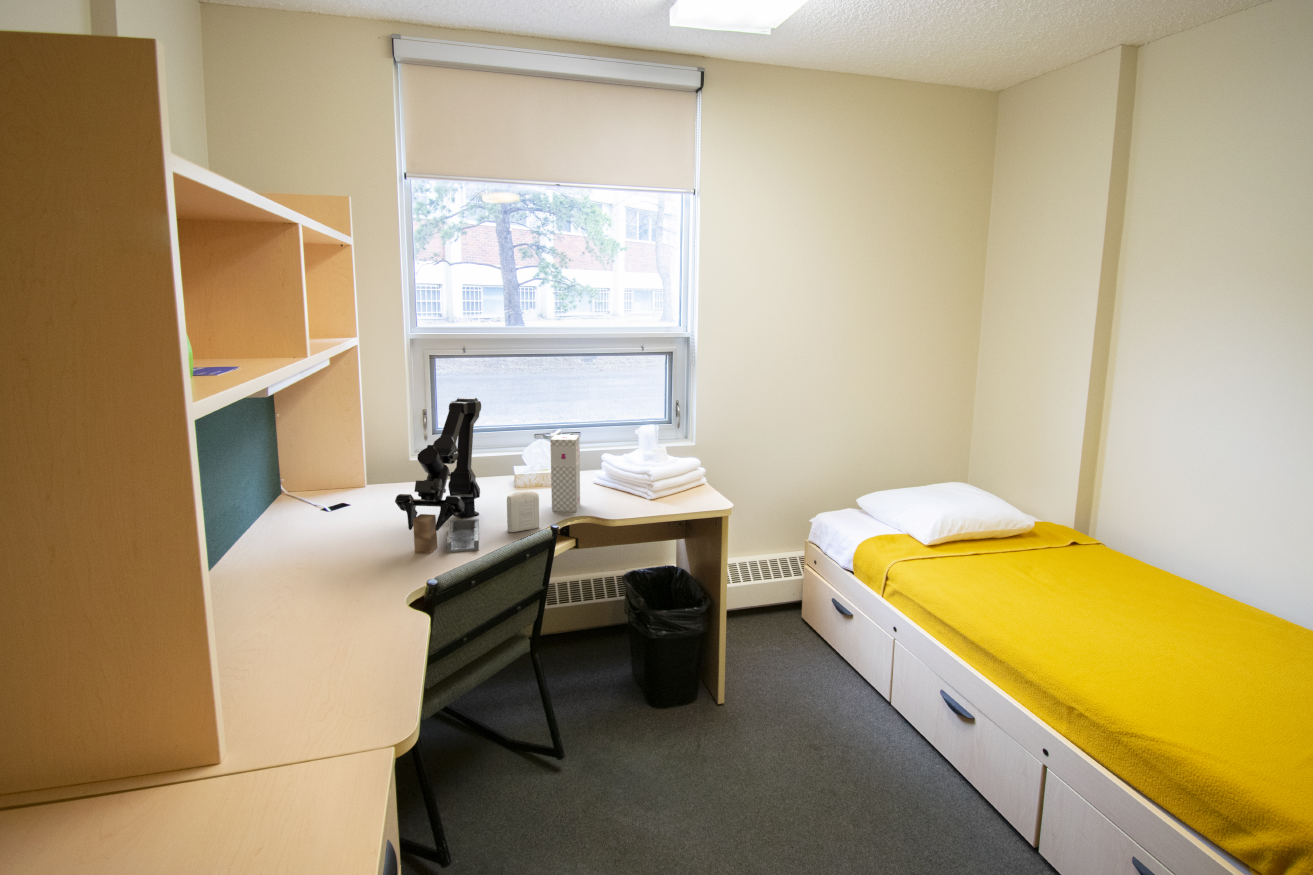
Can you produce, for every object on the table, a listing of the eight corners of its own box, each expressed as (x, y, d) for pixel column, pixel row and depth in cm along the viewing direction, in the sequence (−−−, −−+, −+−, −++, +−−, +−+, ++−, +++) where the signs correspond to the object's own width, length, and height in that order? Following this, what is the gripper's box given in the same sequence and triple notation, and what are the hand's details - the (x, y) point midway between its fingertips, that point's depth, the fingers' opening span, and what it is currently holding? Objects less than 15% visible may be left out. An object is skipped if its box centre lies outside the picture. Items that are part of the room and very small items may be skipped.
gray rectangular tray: (450, 530, 213) (450, 520, 212) (479, 528, 215) (478, 519, 215) (447, 552, 194) (446, 542, 193) (478, 550, 196) (478, 540, 196)
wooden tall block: (437, 547, 198) (435, 514, 196) (430, 553, 193) (428, 520, 191) (422, 547, 198) (420, 514, 196) (415, 553, 194) (412, 519, 192)
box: (576, 511, 233) (575, 440, 228) (551, 511, 233) (550, 439, 228) (580, 504, 241) (579, 435, 236) (556, 503, 241) (554, 434, 236)
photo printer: (536, 524, 219) (535, 487, 217) (541, 528, 216) (540, 490, 213) (505, 530, 214) (504, 492, 211) (510, 534, 210) (509, 495, 208)
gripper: (395, 467, 196) (380, 515, 187) (459, 468, 194) (446, 518, 186) (408, 486, 205) (394, 533, 196) (469, 488, 204) (458, 535, 195)
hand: (423, 529), depth 193 cm, fingers open, 7 cm apart
